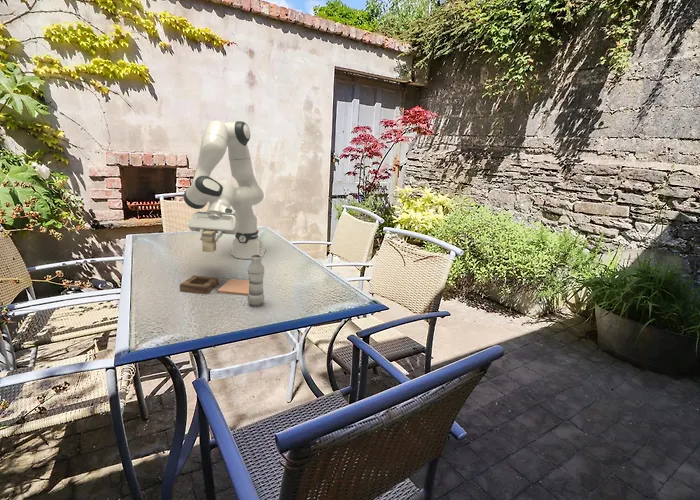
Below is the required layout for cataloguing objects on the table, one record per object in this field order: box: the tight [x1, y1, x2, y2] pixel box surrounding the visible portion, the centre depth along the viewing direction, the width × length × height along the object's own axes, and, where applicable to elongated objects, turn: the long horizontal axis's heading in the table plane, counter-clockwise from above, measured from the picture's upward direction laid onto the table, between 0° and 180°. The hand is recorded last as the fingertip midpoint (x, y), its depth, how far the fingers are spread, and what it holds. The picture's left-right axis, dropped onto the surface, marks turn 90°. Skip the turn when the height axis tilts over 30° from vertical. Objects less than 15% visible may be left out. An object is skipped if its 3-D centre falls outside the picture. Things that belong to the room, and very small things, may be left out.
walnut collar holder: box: [179, 275, 220, 295], centre depth 151 cm, size 12×12×3 cm
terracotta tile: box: [216, 278, 249, 297], centre depth 154 cm, size 14×14×1 cm
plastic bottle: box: [247, 255, 265, 307], centre depth 138 cm, size 6×7×20 cm
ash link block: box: [201, 231, 217, 253], centre depth 146 cm, size 4×4×8 cm
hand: (208, 240), depth 146 cm, fingers closed on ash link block, 4 cm apart
